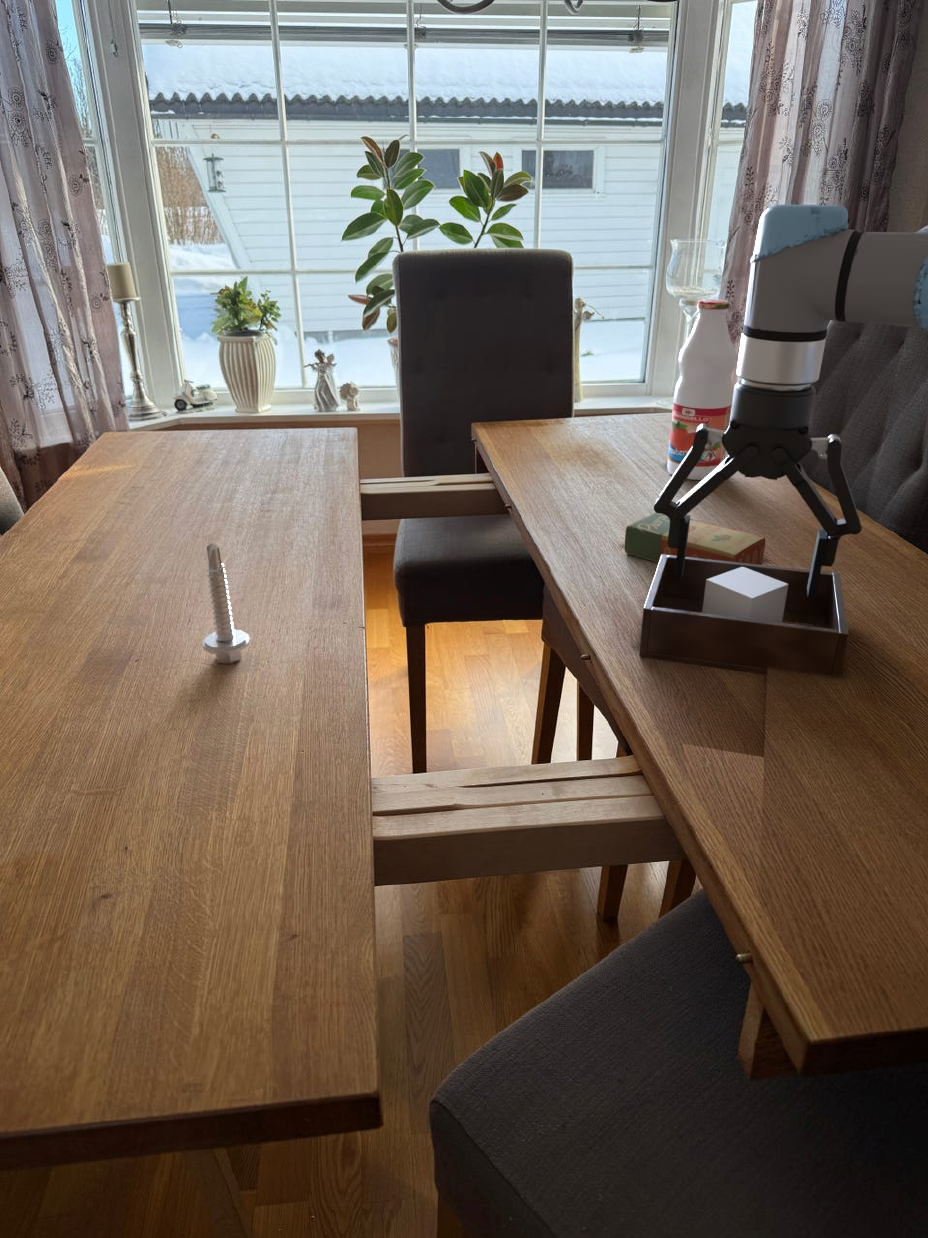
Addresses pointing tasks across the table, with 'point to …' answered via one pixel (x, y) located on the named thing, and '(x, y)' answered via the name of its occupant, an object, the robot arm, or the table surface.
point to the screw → (222, 615)
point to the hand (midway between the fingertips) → (743, 584)
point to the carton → (693, 541)
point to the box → (744, 622)
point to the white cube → (745, 595)
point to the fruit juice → (703, 387)
